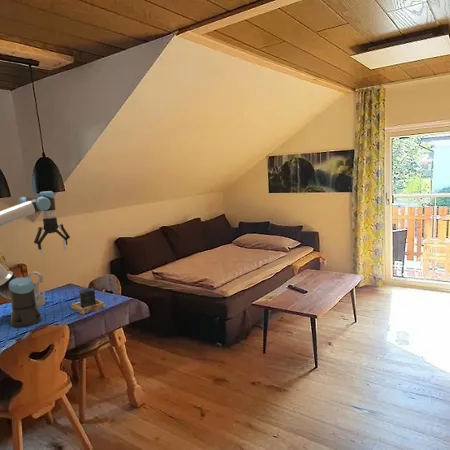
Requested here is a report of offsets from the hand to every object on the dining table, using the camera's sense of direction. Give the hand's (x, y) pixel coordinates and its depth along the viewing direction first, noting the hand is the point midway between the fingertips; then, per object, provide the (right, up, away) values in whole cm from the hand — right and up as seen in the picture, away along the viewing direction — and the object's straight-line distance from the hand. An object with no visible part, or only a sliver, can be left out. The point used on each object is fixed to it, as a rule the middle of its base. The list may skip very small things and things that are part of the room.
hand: (53, 252), depth 241 cm
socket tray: (+23, -32, -7) cm, 40 cm away
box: (+23, -32, -7) cm, 40 cm away
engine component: (-12, -32, +5) cm, 35 cm away
